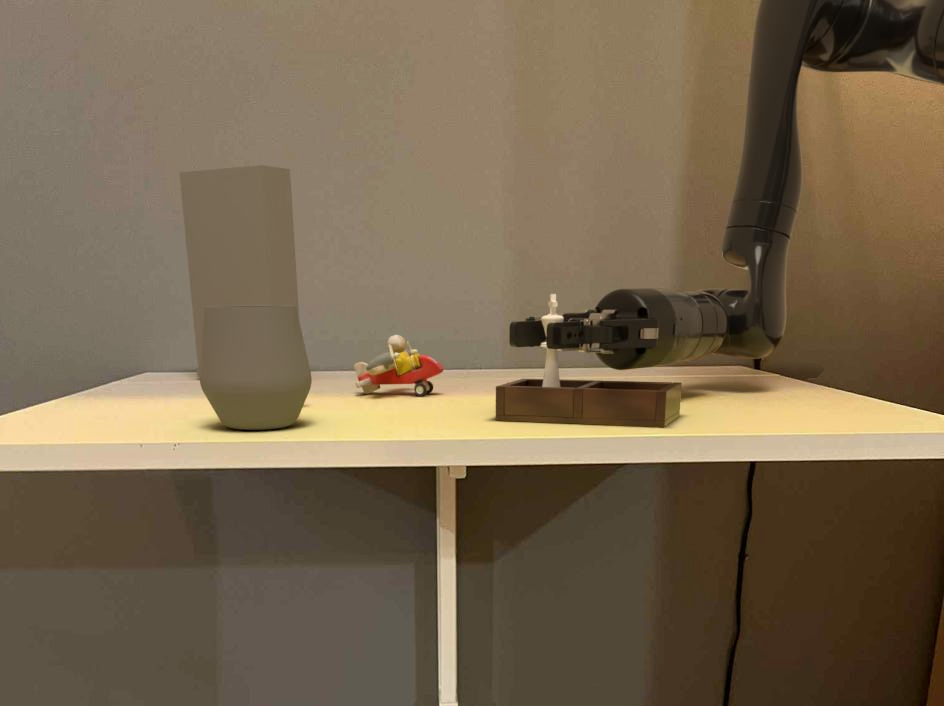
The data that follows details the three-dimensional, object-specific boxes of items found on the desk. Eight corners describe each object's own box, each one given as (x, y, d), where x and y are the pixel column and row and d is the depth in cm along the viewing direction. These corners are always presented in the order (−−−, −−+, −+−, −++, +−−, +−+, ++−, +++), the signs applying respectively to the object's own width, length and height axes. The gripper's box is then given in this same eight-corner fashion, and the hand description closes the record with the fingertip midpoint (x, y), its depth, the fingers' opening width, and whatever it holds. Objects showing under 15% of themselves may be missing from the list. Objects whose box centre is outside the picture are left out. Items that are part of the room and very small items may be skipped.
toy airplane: (448, 395, 109) (447, 334, 107) (374, 400, 105) (371, 337, 103) (410, 388, 116) (408, 331, 114) (339, 393, 112) (336, 334, 110)
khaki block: (308, 379, 129) (295, 169, 120) (276, 383, 124) (261, 165, 116) (230, 375, 136) (213, 176, 127) (197, 379, 131) (177, 172, 122)
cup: (328, 420, 89) (322, 304, 86) (291, 435, 81) (282, 307, 77) (231, 418, 91) (222, 305, 88) (185, 432, 83) (172, 307, 79)
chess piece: (530, 412, 88) (532, 294, 85) (519, 406, 93) (520, 294, 89) (583, 411, 89) (587, 293, 85) (569, 404, 93) (572, 293, 90)
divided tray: (679, 415, 91) (681, 382, 90) (664, 427, 84) (666, 391, 82) (522, 410, 96) (522, 378, 95) (495, 420, 89) (495, 386, 88)
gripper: (592, 288, 101) (473, 290, 90) (711, 288, 92) (595, 289, 80) (589, 364, 104) (474, 374, 93) (705, 371, 94) (592, 384, 83)
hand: (531, 335), depth 87 cm, fingers open, 4 cm apart
